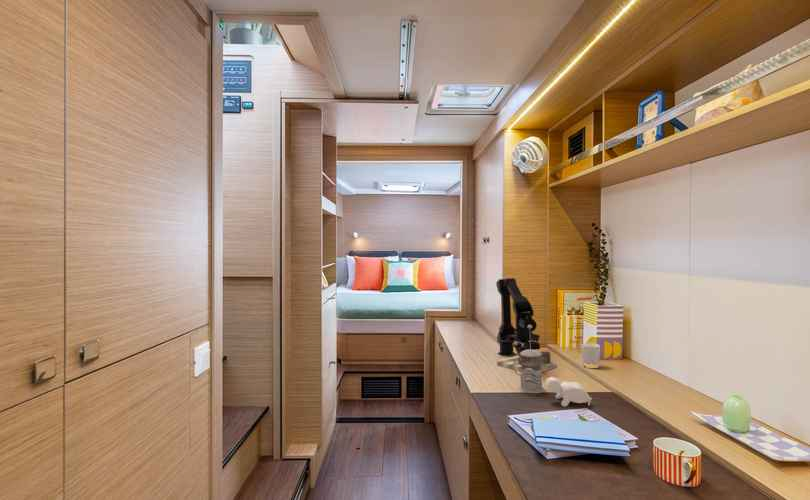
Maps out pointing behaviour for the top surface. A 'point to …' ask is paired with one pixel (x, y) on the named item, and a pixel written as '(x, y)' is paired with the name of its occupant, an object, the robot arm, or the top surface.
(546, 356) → the walnut leg
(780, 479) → the top surface
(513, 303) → the robot arm
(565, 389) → the white animal figurine
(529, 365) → the french press
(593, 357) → the white cup
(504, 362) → the stool seat
